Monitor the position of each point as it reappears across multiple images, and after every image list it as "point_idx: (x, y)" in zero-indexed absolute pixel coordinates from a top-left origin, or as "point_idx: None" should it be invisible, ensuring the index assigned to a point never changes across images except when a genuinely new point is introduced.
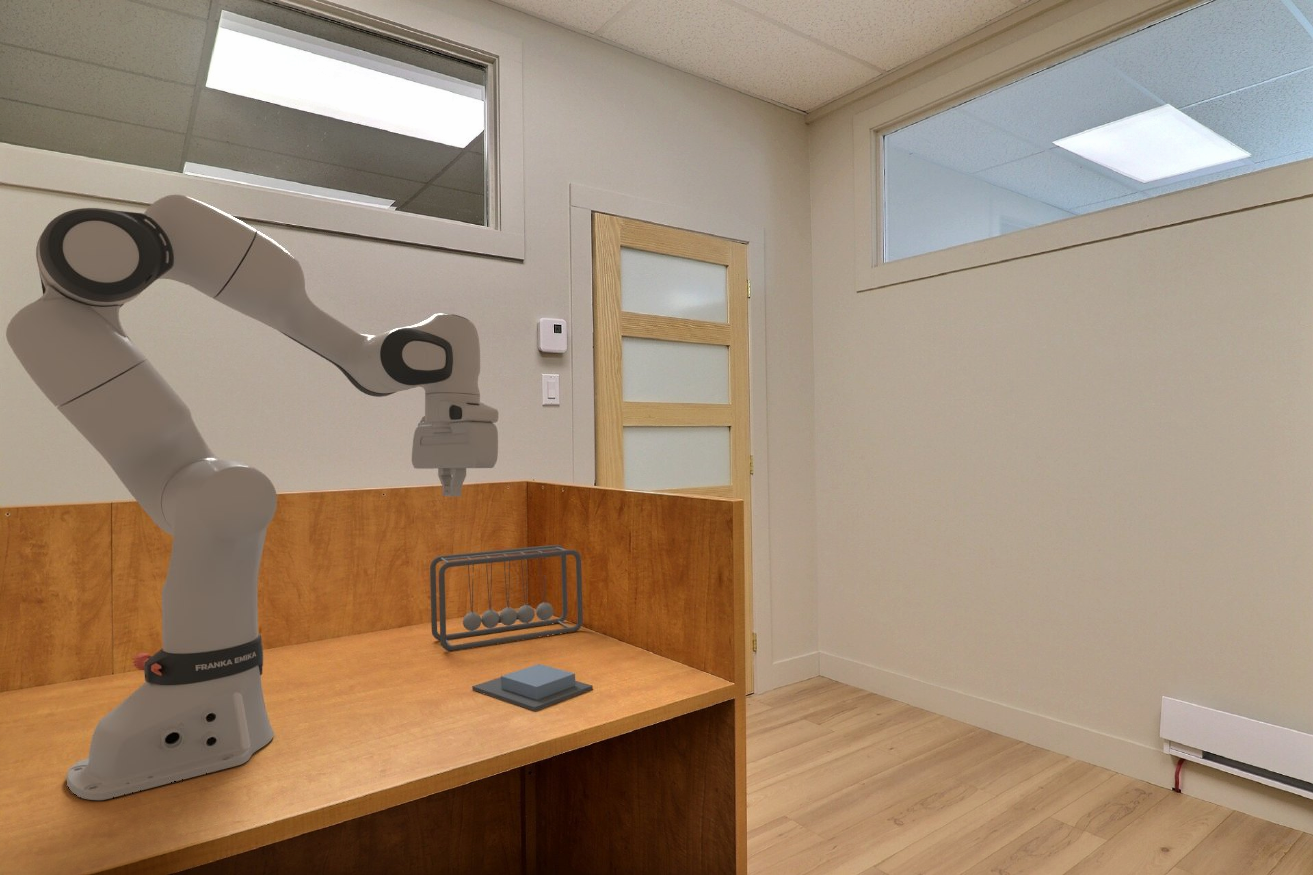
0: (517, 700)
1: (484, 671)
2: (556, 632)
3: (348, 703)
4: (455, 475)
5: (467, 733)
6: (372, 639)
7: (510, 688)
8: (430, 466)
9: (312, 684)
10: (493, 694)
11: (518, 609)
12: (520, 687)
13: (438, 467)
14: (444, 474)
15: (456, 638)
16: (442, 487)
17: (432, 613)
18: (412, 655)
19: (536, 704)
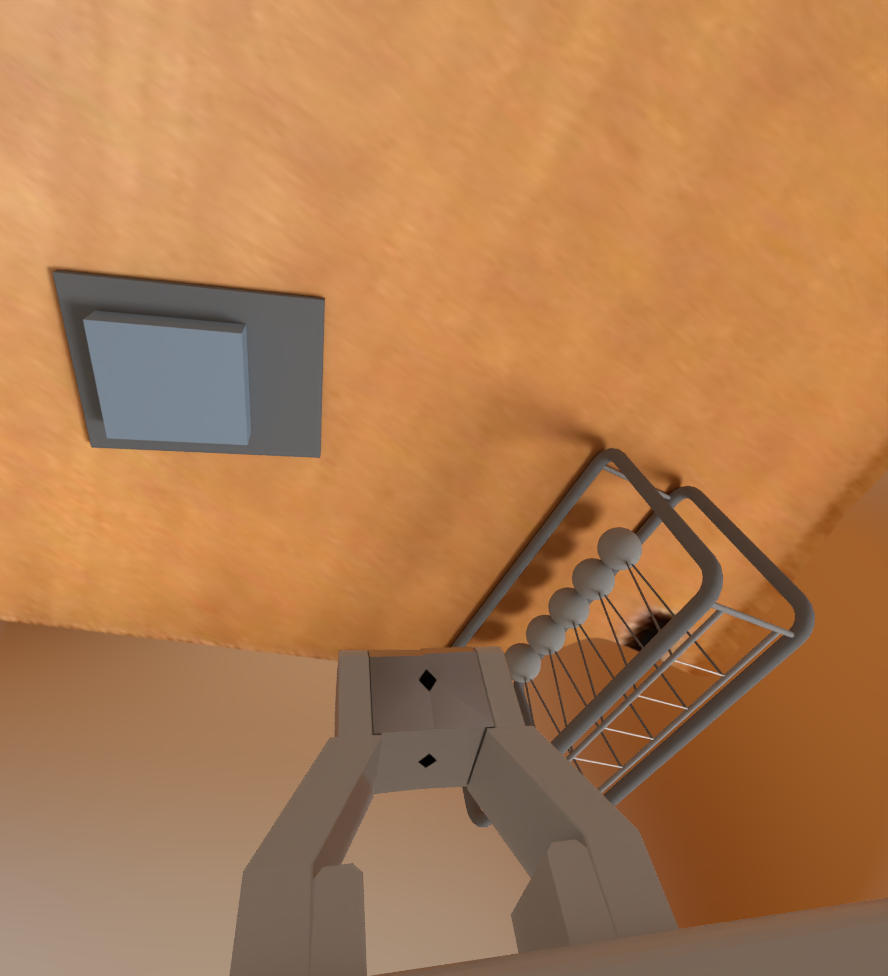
0: (134, 285)
1: (412, 403)
2: (466, 628)
3: (529, 38)
4: (247, 873)
5: (32, 46)
6: (836, 422)
7: (204, 322)
8: (821, 935)
9: (746, 99)
10: (232, 290)
11: (562, 634)
12: (157, 321)
13: (619, 947)
14: (540, 864)
15: (650, 516)
16: (517, 706)
17: (719, 515)
18: (660, 394)
19: (68, 289)
